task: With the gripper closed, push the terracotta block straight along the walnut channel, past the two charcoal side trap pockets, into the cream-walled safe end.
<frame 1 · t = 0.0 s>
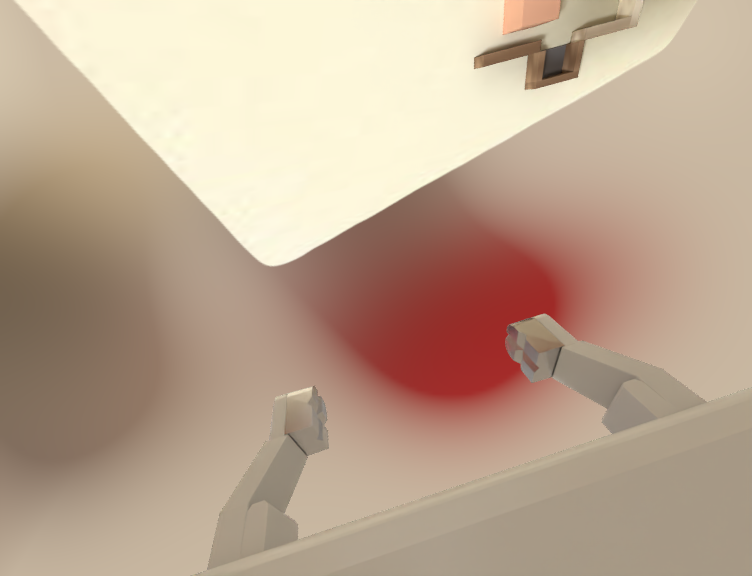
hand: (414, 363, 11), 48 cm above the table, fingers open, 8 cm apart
terracotta block: (521, 5, 43), resting in trap channel
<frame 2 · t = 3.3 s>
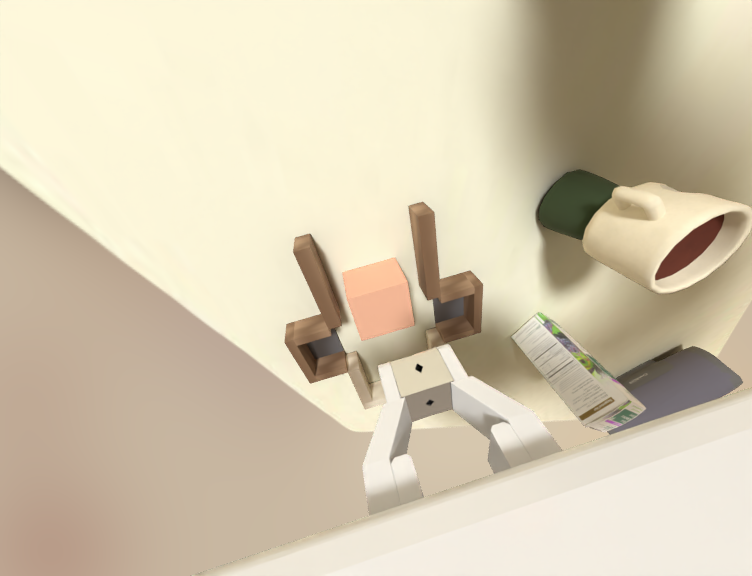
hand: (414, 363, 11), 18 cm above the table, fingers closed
trap channel: (382, 309, 33), on the table
syrup box: (532, 329, 42), on the table
bluetooth speaker: (627, 373, 58), on the table
terracotta block: (374, 285, 31), resting in trap channel
character mug: (560, 198, 29), on the table
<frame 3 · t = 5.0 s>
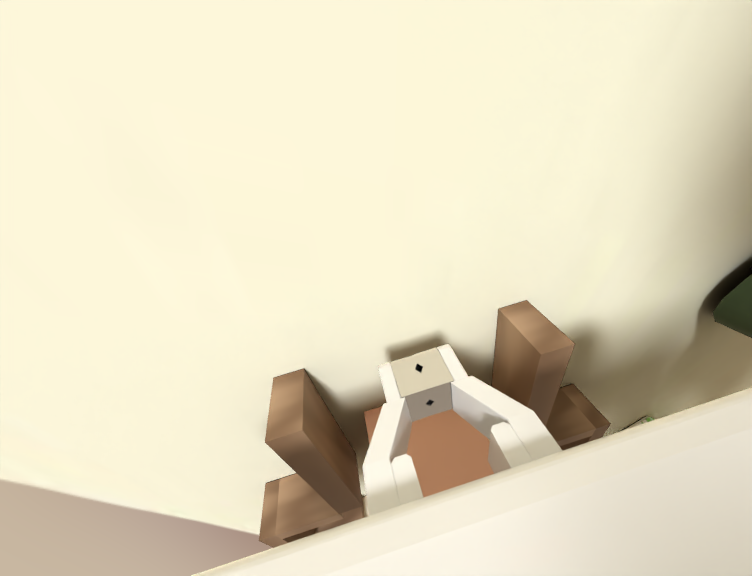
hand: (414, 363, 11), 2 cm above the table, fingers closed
trap channel: (426, 444, 20), on the table
terracotta block: (416, 419, 18), resting in trap channel
character mug: (749, 275, 16), on the table
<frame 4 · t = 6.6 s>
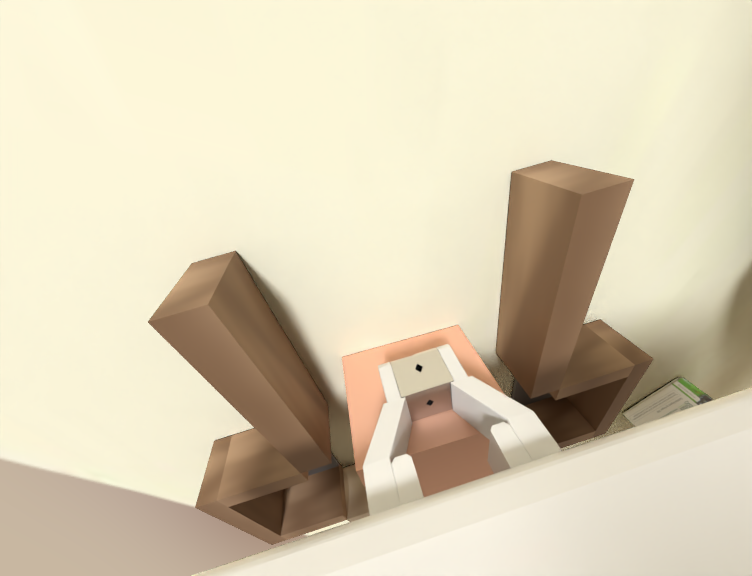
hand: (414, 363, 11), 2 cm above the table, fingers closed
trap channel: (417, 397, 16), on the table
syrup box: (655, 399, 25), on the table
terracotta block: (407, 376, 15), resting in trap channel, touching gripper
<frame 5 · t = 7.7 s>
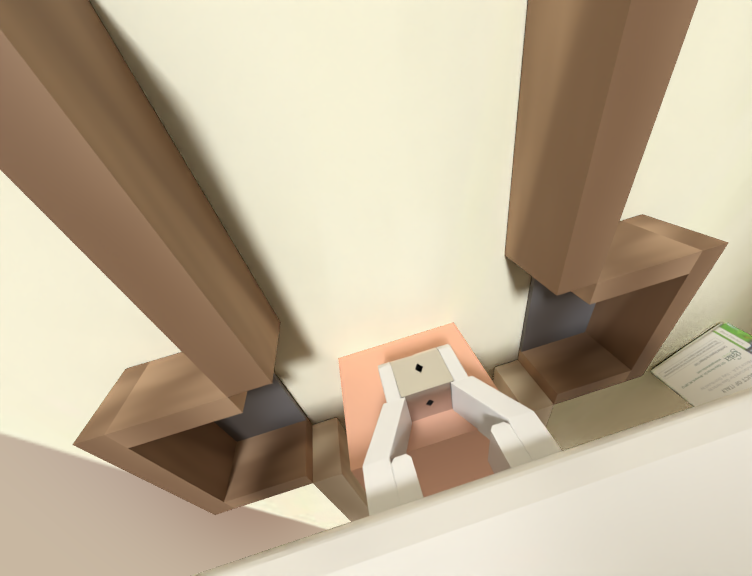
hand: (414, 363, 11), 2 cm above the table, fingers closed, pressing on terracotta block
trap channel: (401, 321, 12), on the table
syrup box: (688, 354, 21), on the table
terracotta block: (405, 375, 15), resting in trap channel, touching gripper
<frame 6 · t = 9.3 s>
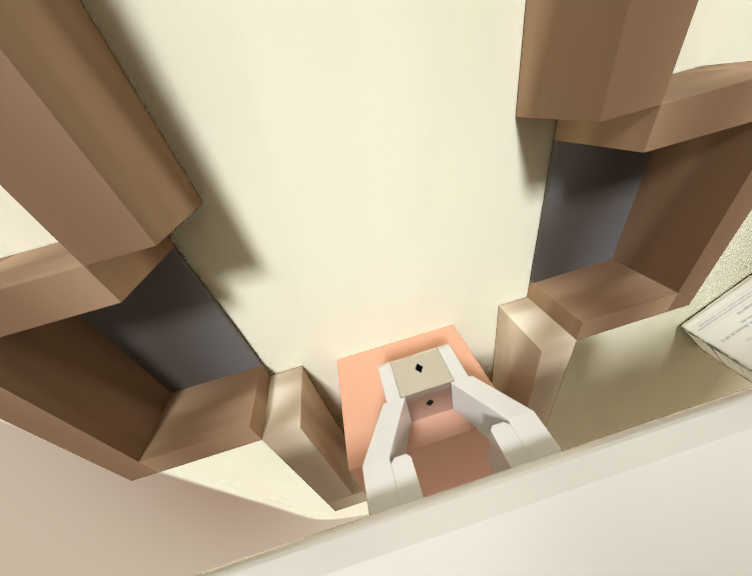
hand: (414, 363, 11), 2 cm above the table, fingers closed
trap channel: (376, 219, 9), on the table
syrup box: (724, 308, 18), on the table
terracotta block: (403, 375, 15), resting in trap channel, touching gripper
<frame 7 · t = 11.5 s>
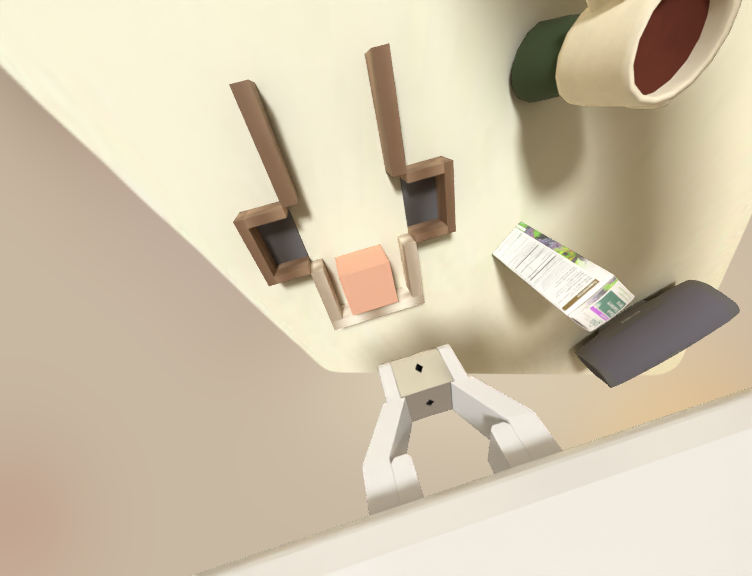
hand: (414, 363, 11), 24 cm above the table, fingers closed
trap channel: (347, 201, 30), on the table
syrup box: (514, 246, 39), on the table
bluetooth speaker: (619, 316, 55), on the table
terracotta block: (363, 269, 36), resting in trap channel
character mug: (534, 64, 27), on the table
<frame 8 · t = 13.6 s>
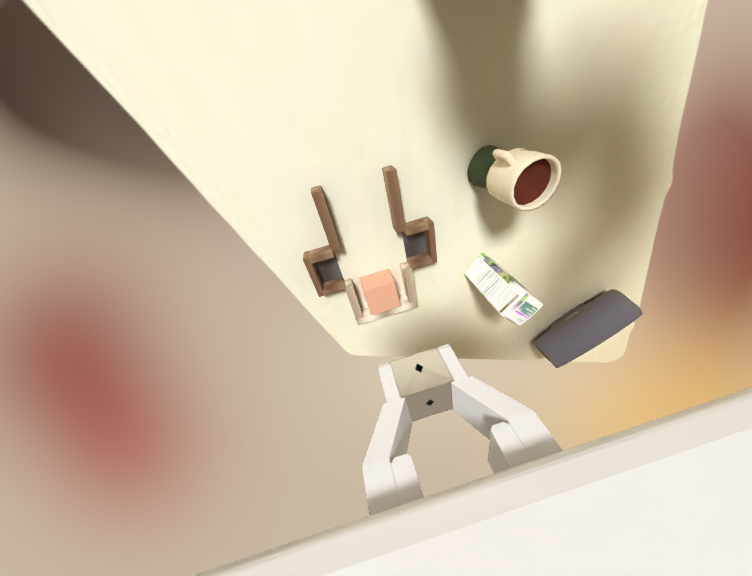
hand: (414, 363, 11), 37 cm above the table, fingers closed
trap channel: (368, 244, 49), on the table
syrup box: (479, 268, 57), on the table
bluetooth speaker: (566, 316, 73), on the table
terracotta block: (377, 284, 54), resting in trap channel
character mug: (482, 165, 45), on the table
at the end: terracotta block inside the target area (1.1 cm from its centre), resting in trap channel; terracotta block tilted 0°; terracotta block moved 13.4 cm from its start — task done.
